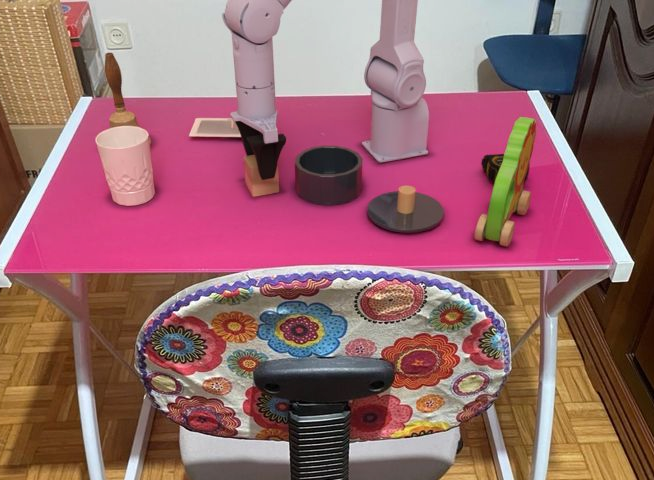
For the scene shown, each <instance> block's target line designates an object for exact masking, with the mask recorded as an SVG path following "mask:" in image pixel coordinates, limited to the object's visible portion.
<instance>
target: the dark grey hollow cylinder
mask: <svg viewBox="0 0 654 480" xmlns="http://www.w3.org/2000/svg"><path fill="white" fill-rule="evenodd" d="M294 179H295V180H294V181H295V192H296V194H297V196H298V197H299V198H301V199H302V201H305V202H307V203H310V204H314V205H319V206H339V205H344V204H347V203H350V202H352V201H354V200H356V199H357V198H358V197H359V196H360V195H361V193H362V189H363V188H362V187H363V186H362V185H363V157H362V156H361V155H360V153H359V152H357V151H356V150H353V149H351V148H349V147H346V146H345V147H344V146H340V145H318V146H312V147H309V148H306V149H304V150H302V151H301V152H300V153H298V154H297V155H296V156H295V158H294Z"/></svg>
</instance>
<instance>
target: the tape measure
mask: <svg viewBox="0 0 654 480" xmlns="http://www.w3.org/2000/svg"><path fill="white" fill-rule="evenodd" d="M503 158H504V153H495V154H486V155H484V156H483V157H482V158H481V163H480V165H481V167H482V172H483V173H484V174H486V177H487V179H488V180H489V181H491V183H495V180H496V177H497V174H498V171H499V169H500V167H501V165H502V162H503ZM530 164H531V163H529V167H528V171H527V173H526V175H525V179H524V183H525V182H526V181H527V179H528V177H529V174H530V166H531V165H530Z"/></svg>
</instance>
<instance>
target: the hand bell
mask: <svg viewBox="0 0 654 480" xmlns="http://www.w3.org/2000/svg"><path fill="white" fill-rule="evenodd" d="M104 75H105V78H106V81H107V84H108V86H109V88H110V90H111V92H112V98H113V103H114V107H115V109H114V110H115V112H113V113H112V114H111V115H110V116H109V129H110V128H114V127H119V126H135V127H140V125H139V123H138V119H137V117H136V115H135V113H134V112H133V111H129V110H127V108H126V106H125V105H126V104H125V101H124V96H123V92H122V91H123V90H122V87H123V85H122V84H123V78H122V77H123V76H122V70H121V67H120V65H119V63H118V61H117V59H116V57H115V55H114V53H113V52H106V53H105V54H104ZM149 143H150V146H151V145H152V139H151V137H149Z"/></svg>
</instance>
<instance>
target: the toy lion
mask: <svg viewBox="0 0 654 480" xmlns="http://www.w3.org/2000/svg"><path fill="white" fill-rule="evenodd" d="M536 134H537V121H536V120H535V118H531V117H526V116H519V117H518V119H516V120H515V121H514V123H513V126H512V129H511V132H510V134H509V136H508V140H507V144H506V148H505V150H504V153H503V154H504V158H503V162H502V165H501V167H500V169H499V171H498V174H497V177H496V180H495V183H494V182H493V183H494V184H493V187H492V192H491V195H490V199H489V205H488V210H487V214H485V213H482V214H480V216H479V218H478V220H477V222H476V225H475V230H474V237H473V238H474V240H475V241H479V242H483V241H484V239H486V240H489V241H494V242H499V246H501V247H502V246H503V247H506V248H507V247H509V245H510V244H511V242H512V240H513V237H514V233H515V229H516V228H515V227H516V225H515V224H516V223H515V221H512V220H510V218H511V217H512V215H513V214H514V213H516V214H517V215H520V216H525V215H526V214H527V212H528V209H529V207H530V204H531V198H532V192H531V191H529V190H525V189H524V190H523V187H524V183H525V182H524V179H525V175H526V173H527V171H528V167H529V163H530V162H531V159H532V155H533V151H534V145H535V140H536ZM530 164H531V163H530ZM529 168H530V167H529Z"/></svg>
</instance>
